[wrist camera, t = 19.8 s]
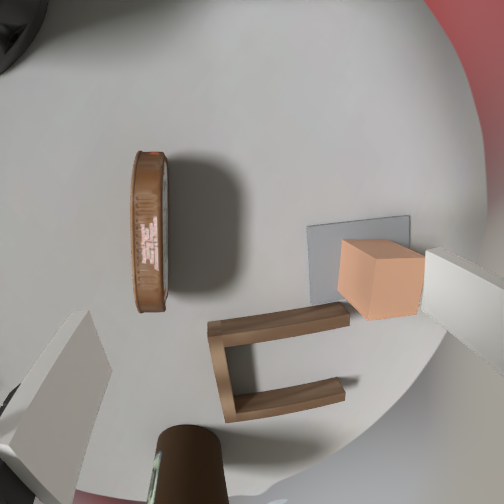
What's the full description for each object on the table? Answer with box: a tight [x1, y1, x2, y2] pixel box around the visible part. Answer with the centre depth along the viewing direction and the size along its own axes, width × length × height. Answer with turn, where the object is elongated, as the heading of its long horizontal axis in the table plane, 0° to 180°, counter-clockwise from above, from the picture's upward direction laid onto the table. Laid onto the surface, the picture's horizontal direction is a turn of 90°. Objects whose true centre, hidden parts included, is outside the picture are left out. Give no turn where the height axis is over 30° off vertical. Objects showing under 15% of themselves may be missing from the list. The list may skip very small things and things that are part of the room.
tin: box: [130, 151, 168, 313], centre depth 28 cm, size 15×3×8 cm, turn 177°
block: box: [337, 239, 425, 321], centre depth 32 cm, size 6×6×8 cm
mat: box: [307, 215, 409, 305], centre depth 36 cm, size 9×13×1 cm
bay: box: [207, 302, 350, 423], centre depth 36 cm, size 13×16×4 cm
